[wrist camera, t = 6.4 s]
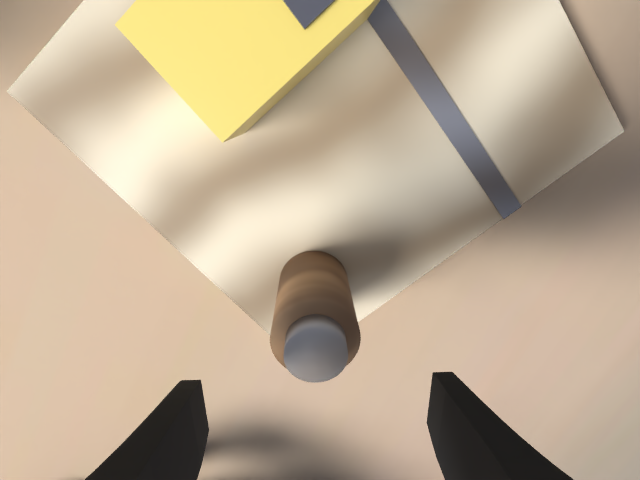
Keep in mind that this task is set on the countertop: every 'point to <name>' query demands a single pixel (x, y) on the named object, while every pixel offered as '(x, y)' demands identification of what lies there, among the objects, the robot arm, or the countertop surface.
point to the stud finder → (238, 50)
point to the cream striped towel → (336, 141)
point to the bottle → (314, 318)
